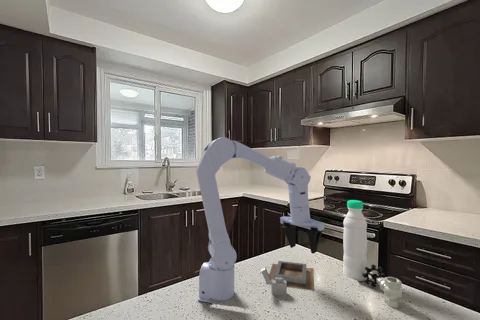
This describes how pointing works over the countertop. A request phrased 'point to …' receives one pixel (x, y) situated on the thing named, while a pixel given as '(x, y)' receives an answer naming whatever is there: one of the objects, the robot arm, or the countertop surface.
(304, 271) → the steel collar
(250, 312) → the countertop surface
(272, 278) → the walnut board
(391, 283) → the valve
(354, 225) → the water bottle
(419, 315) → the countertop surface
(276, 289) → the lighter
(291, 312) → the countertop surface
